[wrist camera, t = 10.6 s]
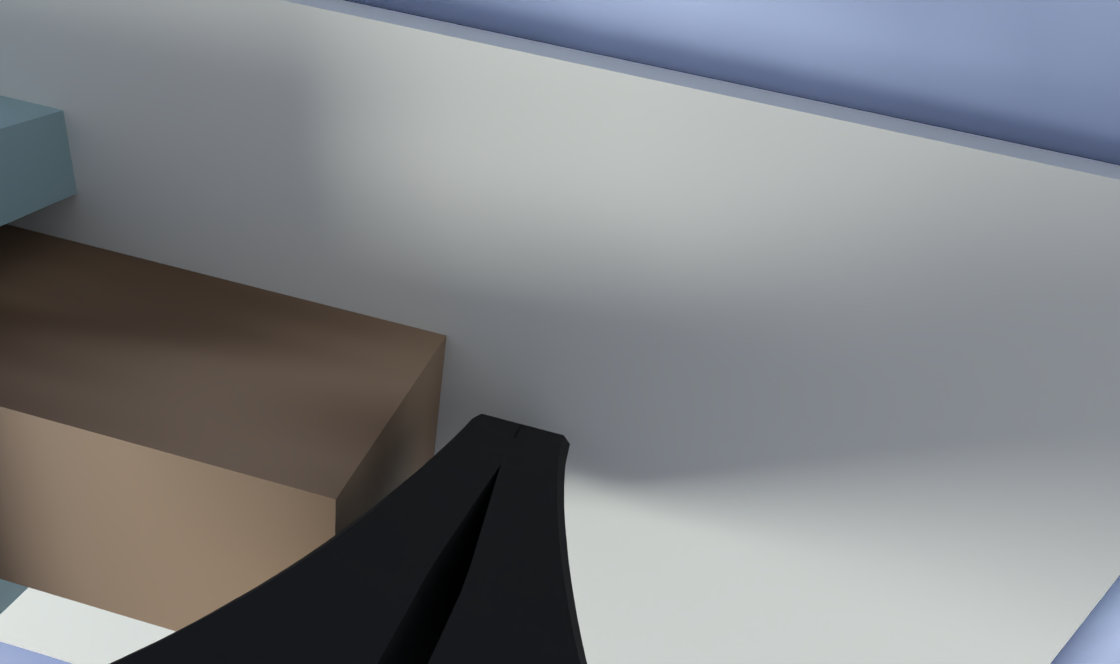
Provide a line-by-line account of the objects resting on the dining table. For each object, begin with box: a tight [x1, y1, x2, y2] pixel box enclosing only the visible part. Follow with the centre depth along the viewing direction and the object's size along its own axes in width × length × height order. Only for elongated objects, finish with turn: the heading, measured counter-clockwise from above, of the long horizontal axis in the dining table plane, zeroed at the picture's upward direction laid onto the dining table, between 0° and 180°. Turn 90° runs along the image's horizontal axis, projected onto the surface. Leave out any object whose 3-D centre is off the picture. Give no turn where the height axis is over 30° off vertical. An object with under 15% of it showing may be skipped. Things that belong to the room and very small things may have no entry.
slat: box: [0, 224, 446, 631], centre depth 10 cm, size 10×3×4 cm, turn 81°
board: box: [0, 0, 1120, 664], centre depth 13 cm, size 26×15×1 cm, turn 81°
